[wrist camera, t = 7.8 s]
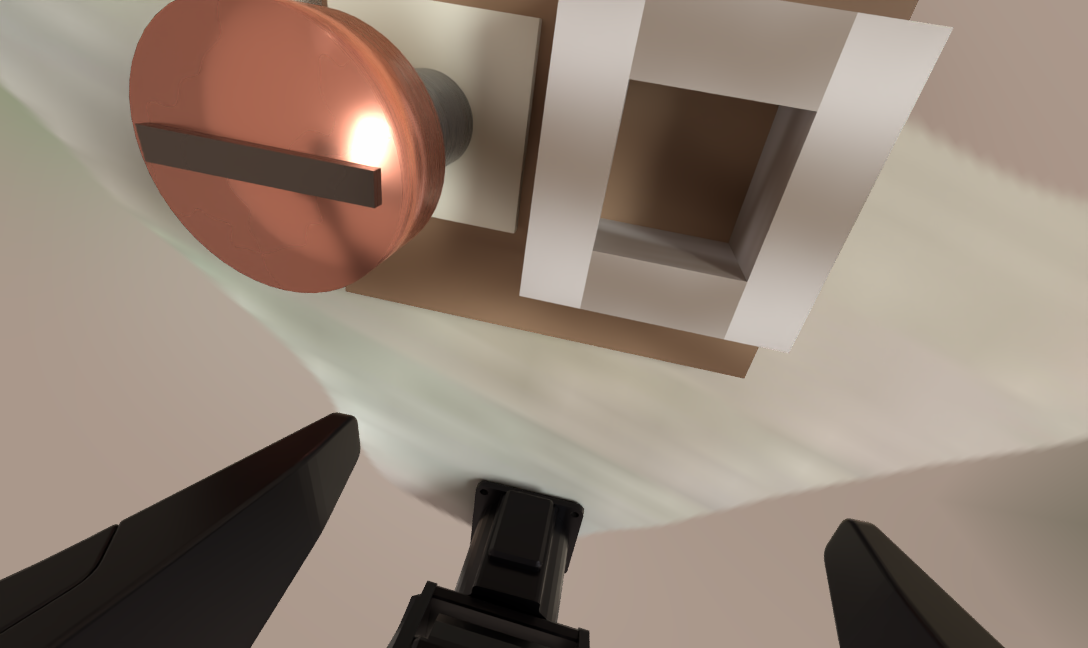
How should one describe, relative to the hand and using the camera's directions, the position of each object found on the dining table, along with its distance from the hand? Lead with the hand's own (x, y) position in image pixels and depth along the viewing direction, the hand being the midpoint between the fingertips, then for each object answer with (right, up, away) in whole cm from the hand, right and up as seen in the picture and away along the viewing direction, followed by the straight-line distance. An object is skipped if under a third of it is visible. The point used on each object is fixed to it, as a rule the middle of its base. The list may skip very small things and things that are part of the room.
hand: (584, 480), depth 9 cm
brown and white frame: (0, +10, +9) cm, 14 cm away
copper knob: (-5, +10, +8) cm, 14 cm away
